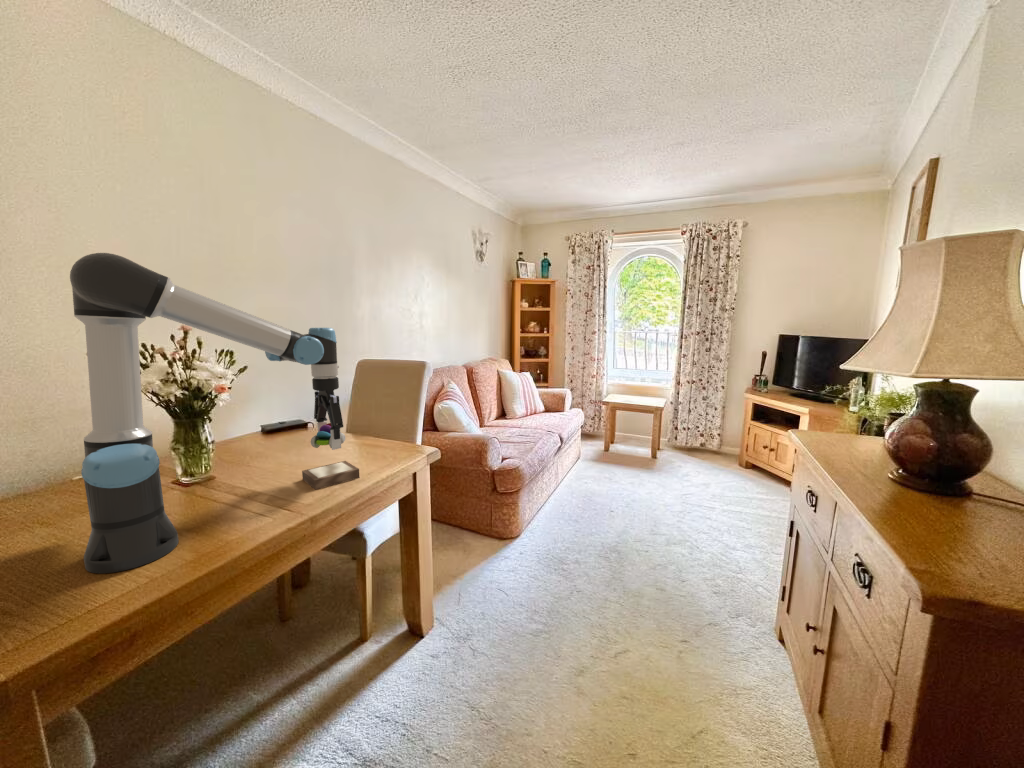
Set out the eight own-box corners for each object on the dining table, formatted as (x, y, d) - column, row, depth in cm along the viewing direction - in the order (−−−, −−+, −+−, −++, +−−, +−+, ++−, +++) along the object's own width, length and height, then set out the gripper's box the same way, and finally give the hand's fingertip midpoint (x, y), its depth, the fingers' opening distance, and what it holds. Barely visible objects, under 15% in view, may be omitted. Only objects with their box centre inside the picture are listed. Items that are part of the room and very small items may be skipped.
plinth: (315, 489, 124) (314, 479, 124) (302, 479, 132) (302, 470, 131) (359, 477, 134) (359, 468, 133) (345, 469, 142) (345, 460, 141)
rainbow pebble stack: (348, 441, 135) (347, 420, 134) (333, 451, 126) (331, 428, 125) (324, 440, 136) (323, 419, 135) (307, 450, 127) (305, 427, 126)
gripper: (352, 379, 122) (356, 450, 126) (323, 372, 138) (327, 435, 142) (327, 382, 117) (331, 455, 121) (300, 374, 133) (304, 439, 137)
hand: (329, 444), depth 131 cm, fingers closed on rainbow pebble stack, 10 cm apart
